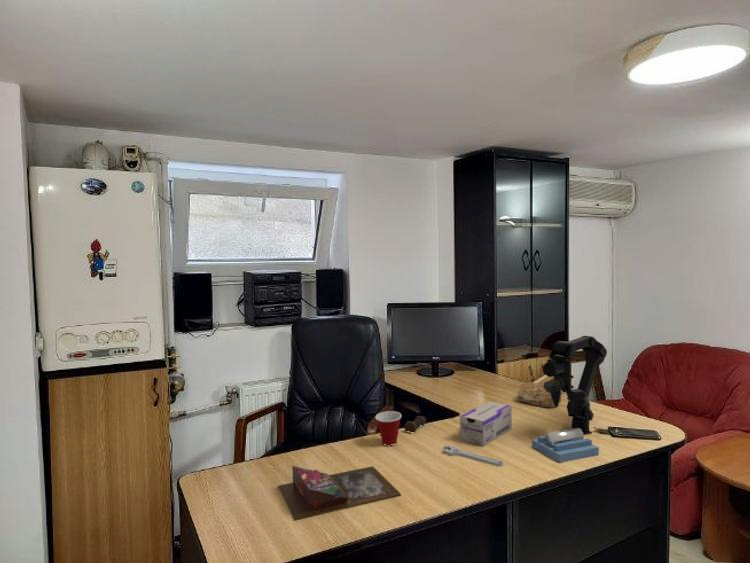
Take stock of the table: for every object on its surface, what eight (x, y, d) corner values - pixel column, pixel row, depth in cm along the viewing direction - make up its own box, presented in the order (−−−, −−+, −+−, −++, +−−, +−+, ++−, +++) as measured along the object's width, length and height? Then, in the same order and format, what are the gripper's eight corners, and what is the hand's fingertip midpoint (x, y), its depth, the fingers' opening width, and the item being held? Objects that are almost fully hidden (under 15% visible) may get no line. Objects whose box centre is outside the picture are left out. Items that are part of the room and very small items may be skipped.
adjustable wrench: (504, 465, 182) (504, 461, 182) (495, 471, 178) (495, 467, 177) (448, 448, 199) (448, 443, 199) (438, 453, 195) (438, 448, 195)
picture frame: (277, 488, 170) (276, 464, 169) (373, 469, 183) (372, 447, 182) (294, 523, 147) (293, 496, 147) (401, 498, 160) (401, 473, 160)
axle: (574, 438, 197) (574, 426, 197) (583, 443, 193) (583, 430, 192) (544, 443, 193) (545, 431, 192) (553, 448, 188) (553, 435, 188)
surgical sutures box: (489, 424, 225) (489, 401, 224) (511, 429, 218) (511, 405, 217) (460, 441, 206) (459, 415, 205) (483, 447, 199) (483, 421, 198)
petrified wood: (564, 404, 250) (562, 386, 248) (550, 415, 242) (548, 396, 240) (530, 395, 265) (528, 377, 263) (516, 405, 257) (514, 387, 255)
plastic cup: (370, 444, 204) (369, 415, 204) (387, 437, 212) (387, 409, 212) (390, 451, 197) (389, 421, 196) (407, 443, 205) (407, 414, 204)
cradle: (569, 440, 203) (569, 428, 203) (598, 455, 188) (598, 442, 188) (532, 447, 198) (531, 434, 197) (559, 462, 182) (559, 449, 182)
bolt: (425, 427, 229) (411, 437, 216) (416, 420, 231) (402, 429, 218) (431, 417, 227) (417, 426, 214) (422, 410, 229) (408, 419, 216)
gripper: (532, 369, 210) (532, 406, 210) (562, 380, 192) (563, 420, 193) (554, 367, 213) (554, 403, 214) (586, 377, 196) (586, 416, 196)
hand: (563, 410), depth 204 cm, fingers open, 9 cm apart
